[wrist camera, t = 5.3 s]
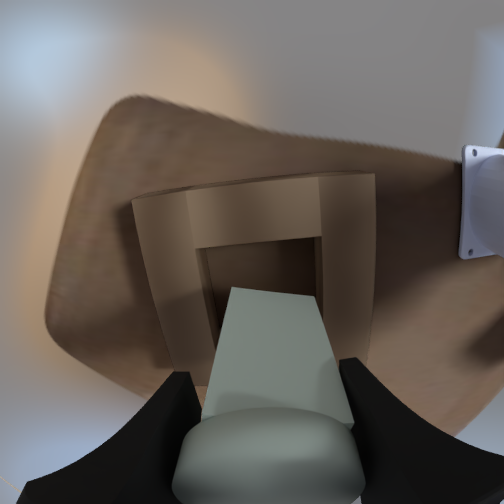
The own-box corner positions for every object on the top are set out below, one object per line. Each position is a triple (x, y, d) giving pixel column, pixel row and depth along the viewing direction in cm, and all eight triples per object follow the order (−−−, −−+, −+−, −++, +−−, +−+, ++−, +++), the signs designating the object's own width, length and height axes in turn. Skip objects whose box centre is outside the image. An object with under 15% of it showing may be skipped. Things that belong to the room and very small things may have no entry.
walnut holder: (359, 170, 16) (374, 173, 14) (356, 348, 20) (365, 370, 18) (147, 193, 17) (131, 199, 14) (187, 363, 21) (180, 385, 18)
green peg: (328, 286, 14) (398, 449, 5) (307, 369, 16) (330, 524, 7) (220, 273, 14) (162, 440, 5) (213, 360, 16) (178, 516, 7)
